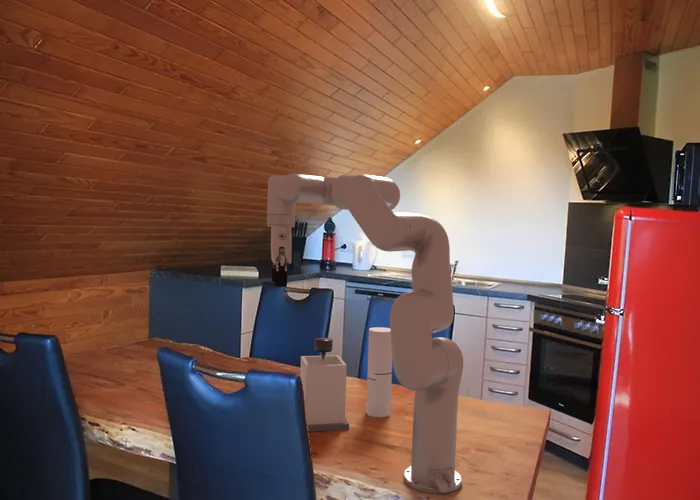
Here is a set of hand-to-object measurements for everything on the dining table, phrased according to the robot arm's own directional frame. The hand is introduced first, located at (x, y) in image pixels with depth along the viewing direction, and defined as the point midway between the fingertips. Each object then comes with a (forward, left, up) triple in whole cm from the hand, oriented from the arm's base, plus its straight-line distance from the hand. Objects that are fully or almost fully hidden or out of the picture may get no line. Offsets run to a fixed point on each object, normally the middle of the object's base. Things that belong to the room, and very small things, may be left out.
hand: (279, 284), depth 154 cm
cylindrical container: (+4, -31, -39) cm, 50 cm away
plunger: (-1, -13, -37) cm, 39 cm away
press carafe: (-1, -13, -39) cm, 41 cm away
